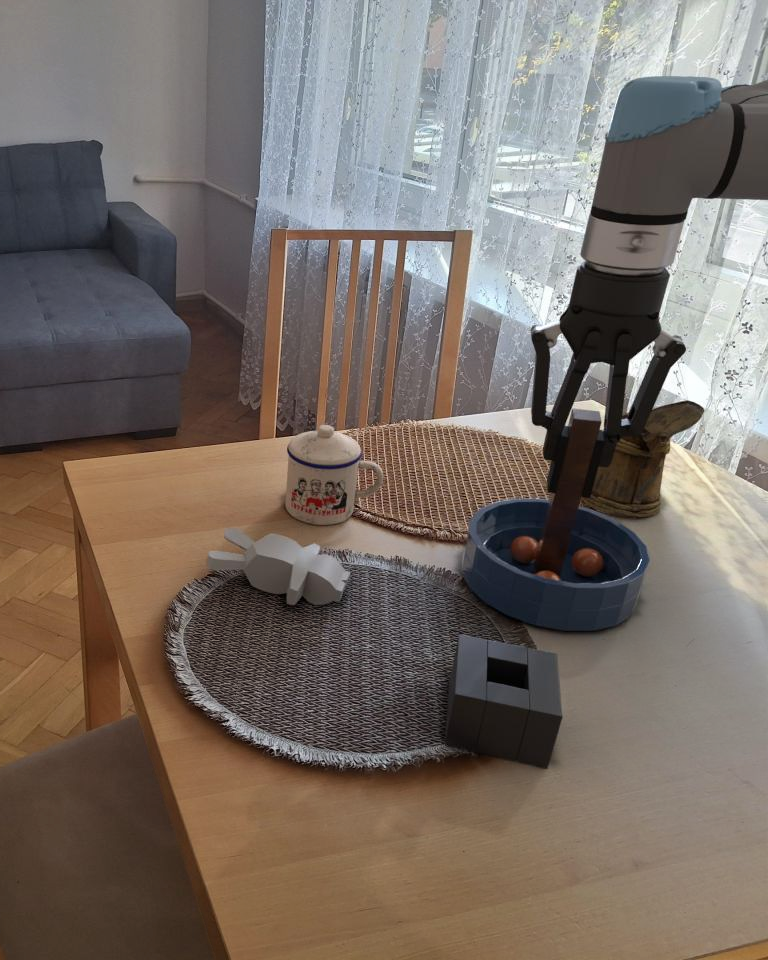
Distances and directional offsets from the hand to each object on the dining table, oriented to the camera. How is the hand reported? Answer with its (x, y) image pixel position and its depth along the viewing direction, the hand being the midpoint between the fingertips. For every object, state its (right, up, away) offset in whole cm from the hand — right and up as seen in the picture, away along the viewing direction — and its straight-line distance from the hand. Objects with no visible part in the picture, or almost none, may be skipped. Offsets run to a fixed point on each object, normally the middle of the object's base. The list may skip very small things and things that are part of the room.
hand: (568, 488), depth 89 cm
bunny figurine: (-29, -11, +8) cm, 32 cm away
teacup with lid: (-20, -3, +21) cm, 29 cm away
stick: (+1, -10, +6) cm, 12 cm away
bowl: (0, -11, +6) cm, 12 cm away
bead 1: (-1, -7, +8) cm, 11 cm away
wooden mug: (+17, -3, +19) cm, 26 cm away
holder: (-13, -21, -12) cm, 27 cm away
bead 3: (+5, -8, +6) cm, 11 cm away
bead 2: (-1, -10, +2) cm, 11 cm away
